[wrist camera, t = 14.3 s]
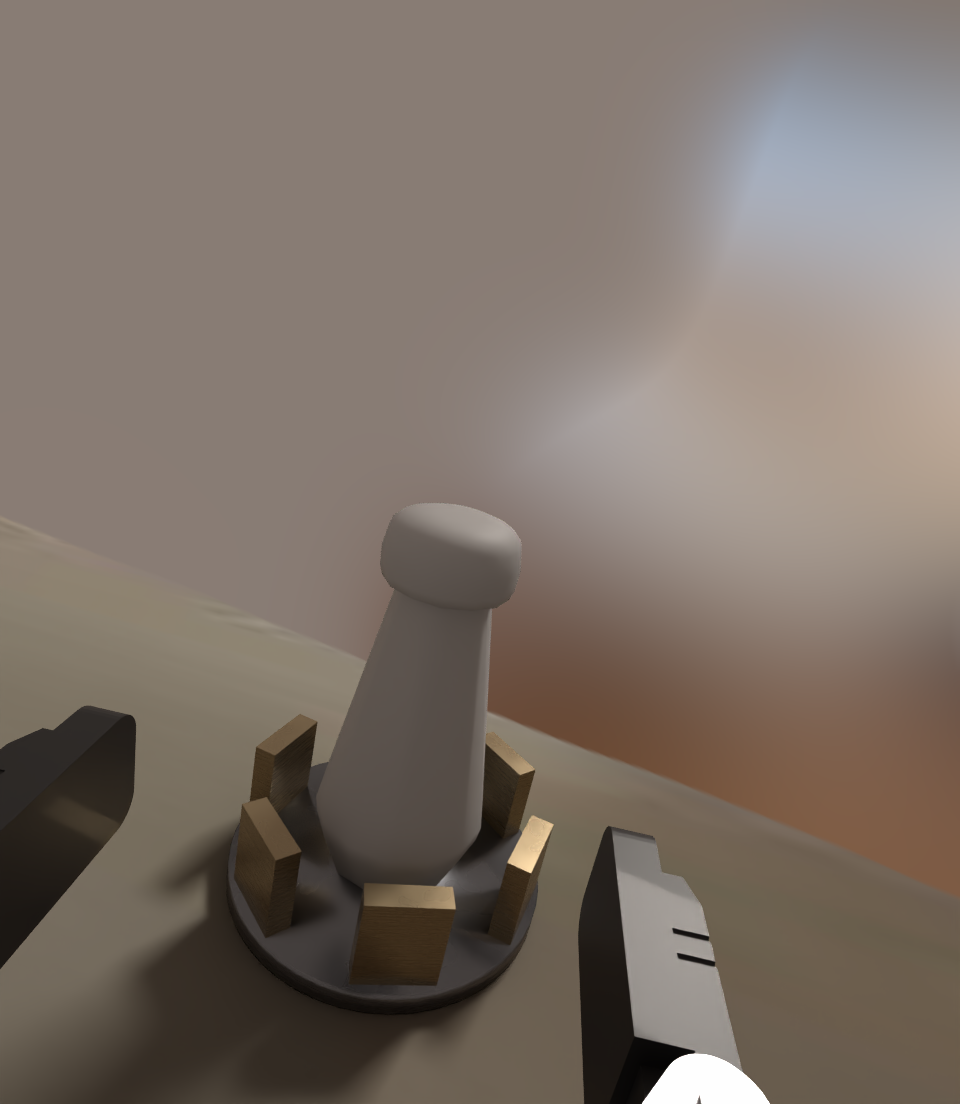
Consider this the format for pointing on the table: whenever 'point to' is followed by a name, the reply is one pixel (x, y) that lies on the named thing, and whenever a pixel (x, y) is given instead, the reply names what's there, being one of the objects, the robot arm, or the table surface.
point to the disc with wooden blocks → (379, 891)
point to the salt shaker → (421, 702)
